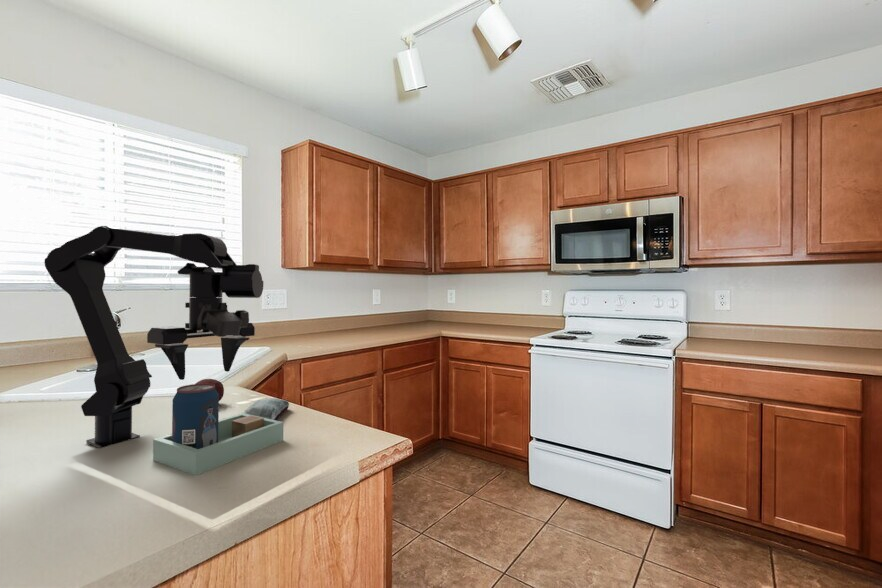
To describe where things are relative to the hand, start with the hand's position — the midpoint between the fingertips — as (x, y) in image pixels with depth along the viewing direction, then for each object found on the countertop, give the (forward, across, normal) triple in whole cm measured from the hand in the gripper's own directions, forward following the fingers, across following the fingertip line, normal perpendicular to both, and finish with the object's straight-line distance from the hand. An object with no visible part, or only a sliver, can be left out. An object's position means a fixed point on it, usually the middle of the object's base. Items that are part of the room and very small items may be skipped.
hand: (205, 375), depth 80 cm
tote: (+13, -3, -10) cm, 17 cm away
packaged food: (+13, +13, 0) cm, 19 cm away
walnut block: (+12, +2, -10) cm, 16 cm away
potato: (+13, +15, +23) cm, 30 cm away
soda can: (+12, -7, -8) cm, 16 cm away
